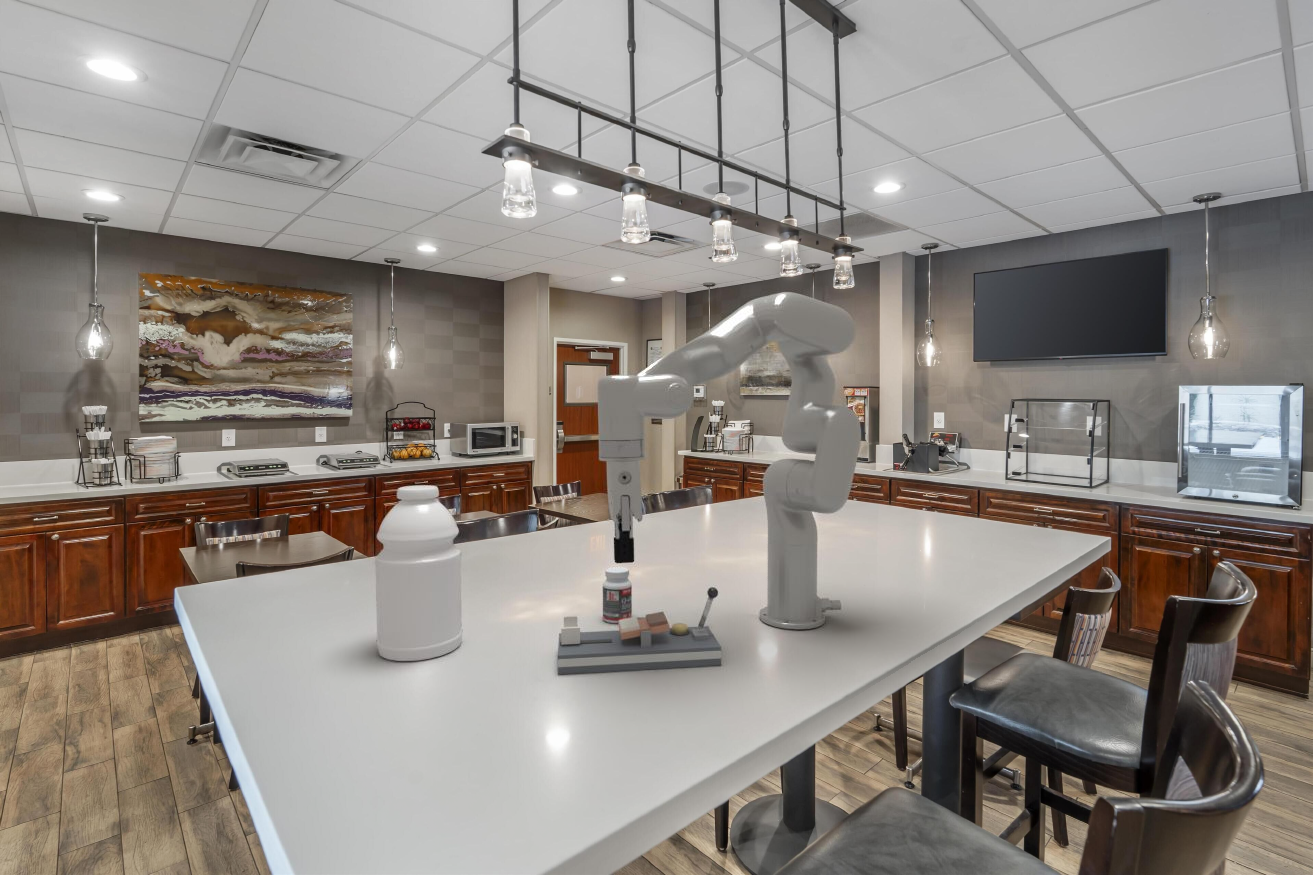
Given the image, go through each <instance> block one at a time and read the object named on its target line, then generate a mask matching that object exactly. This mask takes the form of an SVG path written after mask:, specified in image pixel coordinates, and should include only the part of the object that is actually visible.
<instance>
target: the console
mask: <svg viewBox="0 0 1313 875" xmlns="http://www.w3.org/2000/svg"><path fill="white" fill-rule="evenodd" d="M636 617H637V616H636ZM642 618H646V616H641V617H640V616H638V617H637V619H642ZM557 645H558V646H557V675H559V676H560V675H575V674H591V673H607V672H608V673H612V672H626V671H629V672H631V671H644V670H645V671H646V670H648V671H649V670H661V669H662V670H663V669H680V668H682V669H683V668H697V667H698V668H699V667H700V668H701V667H715V666H722V645H721V644H720V643H719V641H718V640H717V638H716V637H715V635H714V633H713V632H712V630H711V628H710V627H709V625H704V627H703V629H699V628H698V626H688V624H686V623H682V622H676V623H673V624H672V625H671V627H670V630H669V631H663V632H658V633H653V634H651V630H647V631H641V636H638V637H633V638H628V639H623V640H621V635H620V630H619V629H618V630H603V631H602V630H600V631H583V632H582V631H580V644H564V645H561V632H560V633H558V644H557Z"/></svg>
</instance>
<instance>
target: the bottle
mask: <svg viewBox="0 0 1313 875" xmlns="http://www.w3.org/2000/svg"><path fill="white" fill-rule="evenodd" d="M439 496H440V491H439V488H438V486H436V485H431V484H430V485H424V484H422V485H421V484H420V485H418V484H417V485H406V486H402V487H401V486H400V487H399V488H397V490H396V499H398V500H400V501H399V502H398V503H396V504H395V505H394V506H393V507H392V508H391V509H390V510H389V511H388V512H387V513H386V515H385V517H384V518H383V520H382V522H381V524H380V525H379V528H378V530H377V531H378V532H377V534H376V538H377V540H378V541H379V542H380V543H381V544H382V545H383V548H382V549H381V550H380V552H379V553H378V554H377V555H375V558H374V565H375V592H376V593H375V598H376V604H375V605H376V606H375V607H376V634H377V635H376V636H377V637H376V638H377V639H376V640H375V641H376V648H377V651H378V654H379V656H380V657H382V658H384V659H385V660H390V661H397V662H415V661H416V662H417V661H423V660H425V661H426V660H430V659H434V658H437V657H440V656H443V655H446V654H449V653H451V652H453V651H455V650H456V649H457V648H458V647H460V645H461V644H462V643H461V642H462V640H463V639H462V638H463V629H462V626H463V625H462V550H461V549H459V548H458V546H456V544H455V543H454V540H455V538H456V537H457V536H458V534H459V533H460V530H459V527H458V525H457V521H456V519H455V518H454V516H453V515H452V514H451V512H450V511H449V510H448V508H447V507H446V506H445V505H443V503H441V502H440V501H439V500H437V499H436V498H438V497H439Z"/></svg>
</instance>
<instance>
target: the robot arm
mask: <svg viewBox="0 0 1313 875" xmlns="http://www.w3.org/2000/svg"><path fill="white" fill-rule="evenodd" d="M855 337H856V324H855V322H854V320H853V318H852V316H851V314H849V312H848V311H846V310H845V309H844V308H841V307H840V306H837V305H834V304H831V303H828V302H826V301H823V300H819V299H816V298H814V297H810V296H807V295H804V294H800V293H796V292H791V291H783V292H778V293H773V294H770V295H766V296H761V297H758V298H754V299H751V300H749V301H747V302H746V303H745V304H743V305H742V306H740V307H739V308H737V309H736V310H735V311H734V312H732V313H731V314H730V315H728V316H726V317H725V318H724V319H723V320H721V321H720V322H718V323H717V324H716V325H714V326H713V327H712V328H710V329H708V330H707V331H705V332H704V333H703V334H701V335H699V336H698V337H696V338H693V339H692V340H691V341H690V340H689V342H687V343H685V344H683V345H682V346H680V347H678V348H677V349H674V350H673V351H671V352H669V353H667V354H666V355H664V356H662V357H661V358H659V359H657V360H656V361H654V362H652V364H650V365H649V366H647V367H646V368H644V369H643V370H642V371H640V372H639V373H637V375H633V374H611V375H604V376H601V378H600V379H599V380H598V382H597V420H598V423H597V424H598V460H599V461H601V462H606V486H607V500H608V501H607V503H608V510H609V515H610V519H611V522H613V523H614V537H613V560H614V563H615V564H630V563H634V562H635V538H634V526H633V525H634V518H635V520H637V522H638V523H641V521H643V520H644V519H643V517H644V516H643V504H642V502H643V500H642V499H643V498H642V479H641V477H642V476H641V468H640V467H641V466H640V461H644V460H646V448H645V446H646V443H645V441H646V439H645V419H650V420H651V419H658V420H672V419H676V418H680V417H682V415H684V414H686V413H687V412H688V411H689V410H690V408H691V406H692V404H693V402H694V392H693V387H695V386H697V385H701V384H703V383H704V384H705V383H707V382H711V381H714V380H718V379H720V378H723V377H725V376H726V375H729V374H731V373H733V372H734V371H736V370H737V369H738V368H739V367H740V366H742V365H743V364H744V363H746V362H747V361H748V360H749V359H751V357H753V356H755V355H756V354H757V353H758V352H759V351H761V350H762V349H763V348H765V347H766V346H767V345H770V344H772V343H775V344H776V346H777V349H778V350H779V351H780V354H782V357H783V358H784V360H785V361H786V363H787V365H788V369H789V370H790V375H791V386H790V391H789V395H788V399H787V400H788V401H787V405H786V410H785V413H784V418H783V421H782V422H783V423H782V427H781V440H782V443H783V445H784V446H785V447H786V449H788V450H789V451H791V452H794V453H799V454H807V455H815V458H814V460H809V459H802V458H801V459H800V458H783V459H779V460H776V461H774V462H772V463H771V464H770V465H769V466H768V467H767V468H766V470H765V472H764V474H763V476H762V477H763V478H762V492H763V498H764V502H765V507H766V508H765V509H766V517H767V518H766V520H767V605H766V606H764V607H763V608H761V609H760V611H759V613H758V614H759V619H760V620H761V622H763V623H764V624H767V625H769V626H772V627H774V628H780V629H786V630H787V629H788V630H810V629H815V628H819V627H821V626H823V625H824V624H825V622H826V615H825V614H824V613H826V611H841V610H842V602H841V600H840V599H836V600H835V599H831V600H830V598H828V597H825V598H824V597H823V598H821V597H820V596H819V595H818V538H819V537H818V527H817V522H816V519H815V517H814V514H813V513H819V514H826V515H827V514H828V515H830V514H833V513H834V514H835V513H837V512H839V511H840V510H841V509H842V508H843V507H844V506H845V505H846V502H847V501H848V499H849V496H850V494H851V489H852V485H853V480H854V475H855V471H856V466H857V461H858V456H859V452H860V446H861V441H862V427H861V423H860V419H859V418H858V415H857V414H856V412H855V411H853V410H852V409H851V408H849V407H848V406H846V405H845V406H844V405H839V404H833V402H834V397H835V391H836V378H835V374H834V372H833V370H832V367H831V366H830V364H829V362H828V361H827V359H826V357H825V356H830V355H831V356H832V355H836V354H837V355H838V354H841V353H843V352H845V351H846V350H848V349H849V348H850V346H852V344H853V342H854V340H855Z"/></svg>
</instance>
